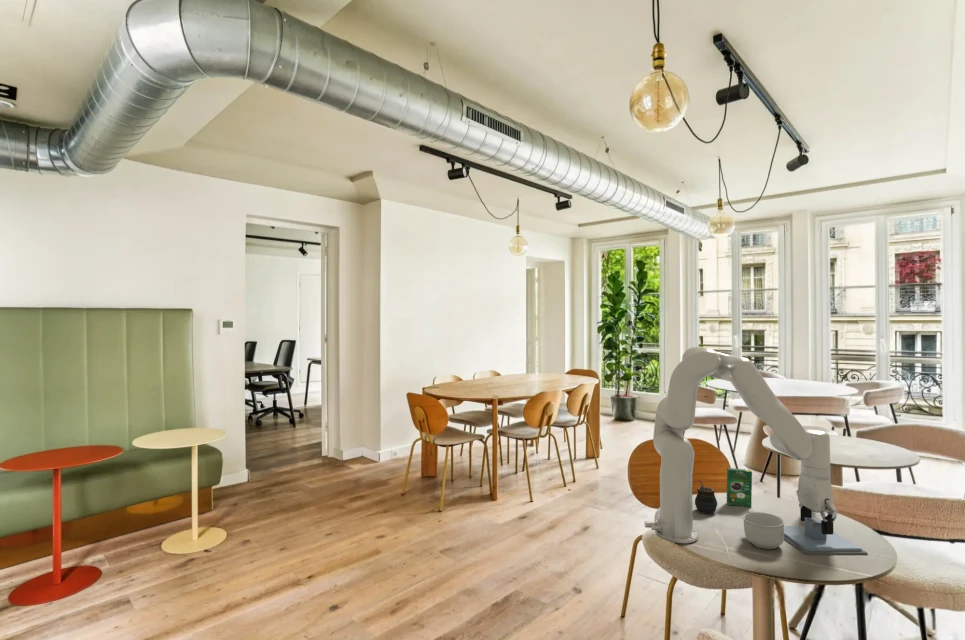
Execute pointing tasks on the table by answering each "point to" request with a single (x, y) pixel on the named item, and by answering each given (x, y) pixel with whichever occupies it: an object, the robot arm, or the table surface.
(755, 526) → the teacup
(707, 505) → the mate gourd
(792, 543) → the mat
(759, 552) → the table surface
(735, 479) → the coffee box
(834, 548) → the lid
